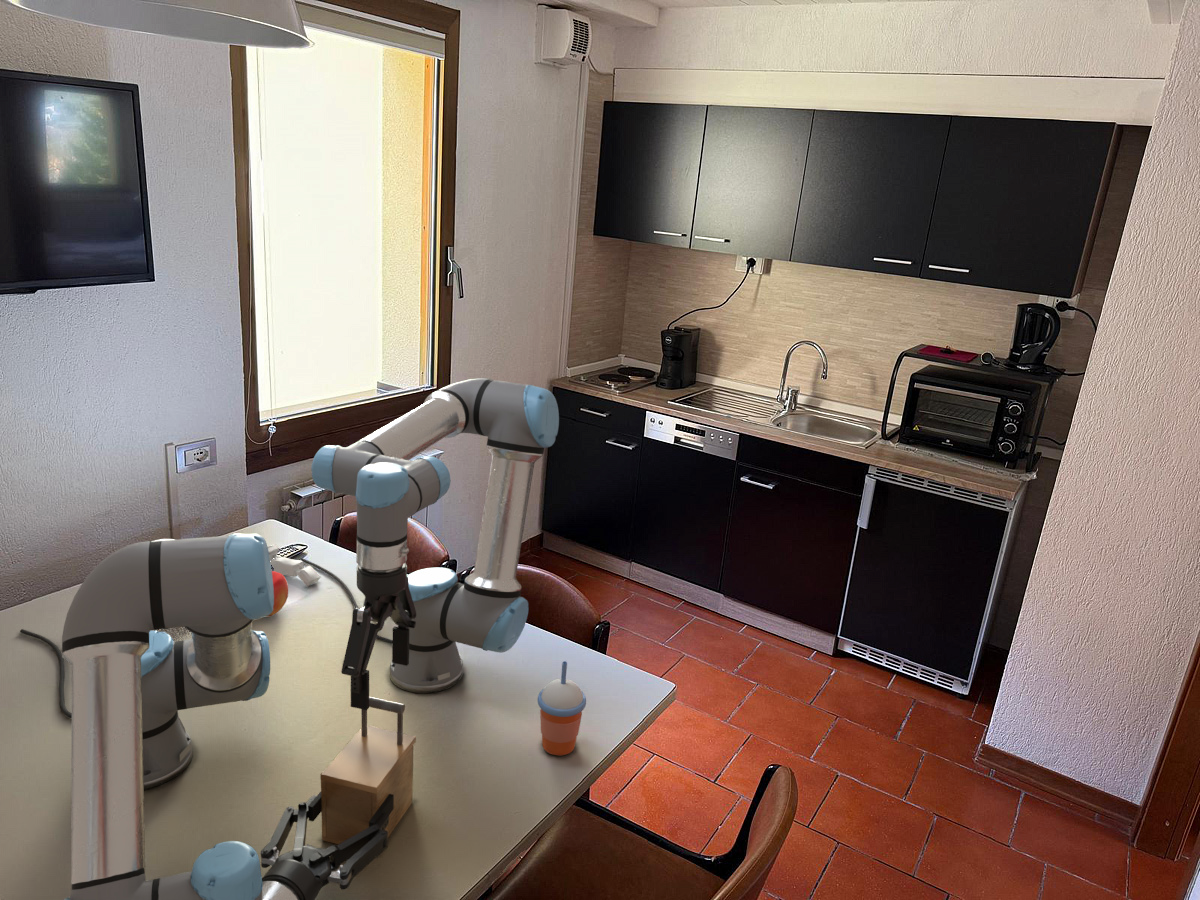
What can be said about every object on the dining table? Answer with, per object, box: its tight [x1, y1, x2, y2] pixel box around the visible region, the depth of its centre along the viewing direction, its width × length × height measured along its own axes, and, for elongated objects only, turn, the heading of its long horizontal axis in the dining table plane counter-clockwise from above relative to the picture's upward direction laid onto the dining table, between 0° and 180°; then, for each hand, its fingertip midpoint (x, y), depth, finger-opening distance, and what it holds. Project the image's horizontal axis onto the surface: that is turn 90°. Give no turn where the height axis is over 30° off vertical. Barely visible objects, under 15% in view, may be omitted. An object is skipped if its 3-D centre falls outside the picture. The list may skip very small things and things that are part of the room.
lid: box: [320, 695, 417, 794], centre depth 136 cm, size 14×10×9 cm
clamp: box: [267, 544, 322, 587], centre depth 219 cm, size 20×4×7 cm, turn 62°
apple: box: [264, 571, 289, 618], centre depth 199 cm, size 10×10×10 cm
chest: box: [320, 745, 414, 845], centre depth 139 cm, size 13×10×11 cm
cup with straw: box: [537, 660, 587, 756], centre depth 160 cm, size 9×9×18 cm
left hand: (362, 794), depth 136 cm, fingers closed on chest, 9 cm apart
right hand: (381, 684), depth 137 cm, fingers open, 13 cm apart
